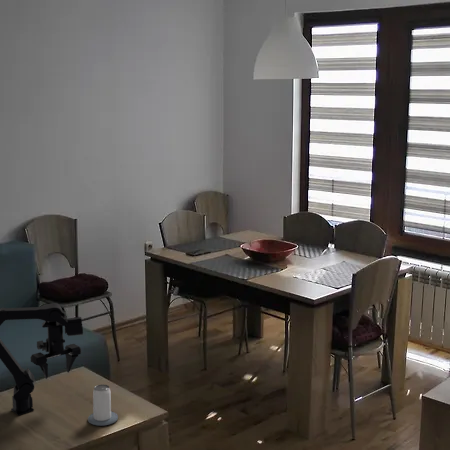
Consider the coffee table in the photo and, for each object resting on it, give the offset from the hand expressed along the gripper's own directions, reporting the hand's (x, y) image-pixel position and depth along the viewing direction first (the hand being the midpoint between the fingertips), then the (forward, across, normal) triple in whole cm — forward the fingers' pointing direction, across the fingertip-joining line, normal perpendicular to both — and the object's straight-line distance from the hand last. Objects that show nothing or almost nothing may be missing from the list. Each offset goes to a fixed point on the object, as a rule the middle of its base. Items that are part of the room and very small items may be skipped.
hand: (57, 375), depth 268 cm
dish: (+13, -7, +21) cm, 26 cm away
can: (+12, -7, +21) cm, 25 cm away
